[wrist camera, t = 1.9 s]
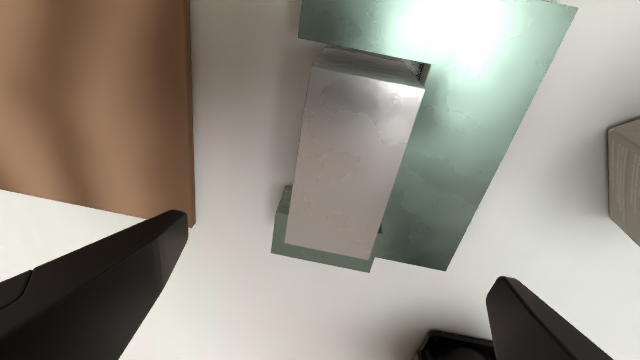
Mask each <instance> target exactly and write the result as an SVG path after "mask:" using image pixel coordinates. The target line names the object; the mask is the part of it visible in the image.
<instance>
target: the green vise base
mask: <svg viewBox="0 0 640 360" xmlns="http://www.w3.org/2000/svg"><path fill="white" fill-rule="evenodd" d="M577 10H578V7H573V6H567V5H562V4H557V3H552V2H547V1H542V0H303V1H302V9H301V17H300V25H299V33H298V38H302V39H307V40H312V41H317V42H322V43H327V44H333V45H338V46H343V47H348V48H353V49H358V50H363V51H368V52H373V53H378V54H383V55H388V56H393V57H398V58H403V59H408V60H413V61H418V62H423V63H424V65H423V68H422V72H421V75H420V78H419V82H420V83H421V85H422V86H423V87H424V89H425V91H424V94H423V97H422V100H421V103H420V106H419V109H418V113H417V116H416V119H415V122H414V125H413V128H412V131H411V134H410V137H409V140H408V143H407V146H406V149H405V152H404V155H403V158H402V161H401V164H400V167H399V170H398V173H397V176H396V179H395V182H394V185H393V188H392V191H391V194H390V197H389V200H388V203H387V206H386V209H385V212H384V215H383V218H382V221H381V224H380V227H379V230H378V233H377V236H376V239H375V242H374V245H373V248H372V251H371V254H370V257H369V260H365V259H360V258H355V257H350V256H345V255H340V254H335V253H331V252H326V251H321V250H316V249H311V248H306V247H301V246H296V245H291V244H286V243H284V241H285V235H286V228H287V221H288V215H289V208H290V201H291V195H292V188H293V187H291V186H286V188H285V191H284V193H283V196H282V198H281V201H280V203H279V206H278V209H277V211H276V216H275V224H274V232H273V240H272V248H271V253H274V254H279V255H284V256H289V257H293V258H298V259H303V260H308V261H313V262H318V263H323V264H328V265H333V266H338V267H343V268H348V269H353V270H358V271H363V272H367V273H369V272H370V269H371V266H372V263H373V260H374V258H375V257H378V258H383V259H388V260H393V261H397V262H402V263H407V264H412V265H417V266H422V267H427V268H432V269H437V270H442V271H446V269H447V267H448V265H449V263H450V261H451V259H452V257H453V255H454V253H455V251H456V249H457V247H458V245H459V243H460V241H461V240H462V238H463V236H464V234H465V232H466V230H467V228H468V226H469V224H470V222H471V220H472V218H473V216H474V214H475V212H476V210H477V208H478V206H479V204H480V202H481V200H482V198H483V196H484V194H485V192H486V190H487V188H488V186H489V184H490V182H491V180H492V178H493V176H494V174H495V172H496V170H497V168H498V166H499V164H500V162H501V160H502V158H503V156H504V154H505V152H506V151H507V149H508V147H509V145H510V143H511V141H512V139H513V137H514V135H515V133H516V131H517V129H518V127H519V125H520V123H521V121H522V119H523V117H524V115H525V113H526V111H527V109H528V107H529V105H530V103H531V101H532V99H533V97H534V95H535V93H536V91H537V89H538V87H539V85H540V83H541V81H542V79H543V77H544V75H545V73H546V71H547V69H548V67H549V65H550V64H551V62H552V60H553V58H554V56H555V54H556V52H557V50H558V48H559V46H560V44H561V42H562V40H563V38H564V36H565V34H566V32H567V30H568V28H569V26H570V24H571V22H572V20H573V18H574V16H575V14H576V12H577Z"/></svg>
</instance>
